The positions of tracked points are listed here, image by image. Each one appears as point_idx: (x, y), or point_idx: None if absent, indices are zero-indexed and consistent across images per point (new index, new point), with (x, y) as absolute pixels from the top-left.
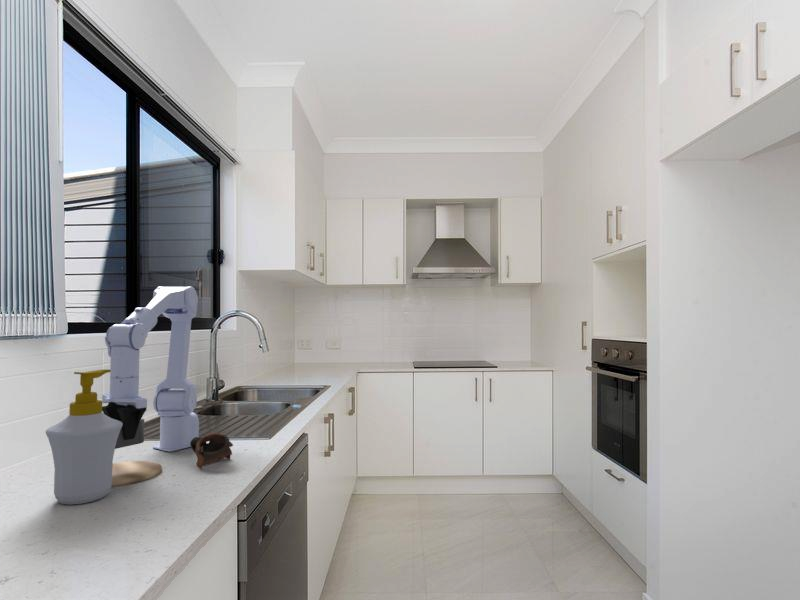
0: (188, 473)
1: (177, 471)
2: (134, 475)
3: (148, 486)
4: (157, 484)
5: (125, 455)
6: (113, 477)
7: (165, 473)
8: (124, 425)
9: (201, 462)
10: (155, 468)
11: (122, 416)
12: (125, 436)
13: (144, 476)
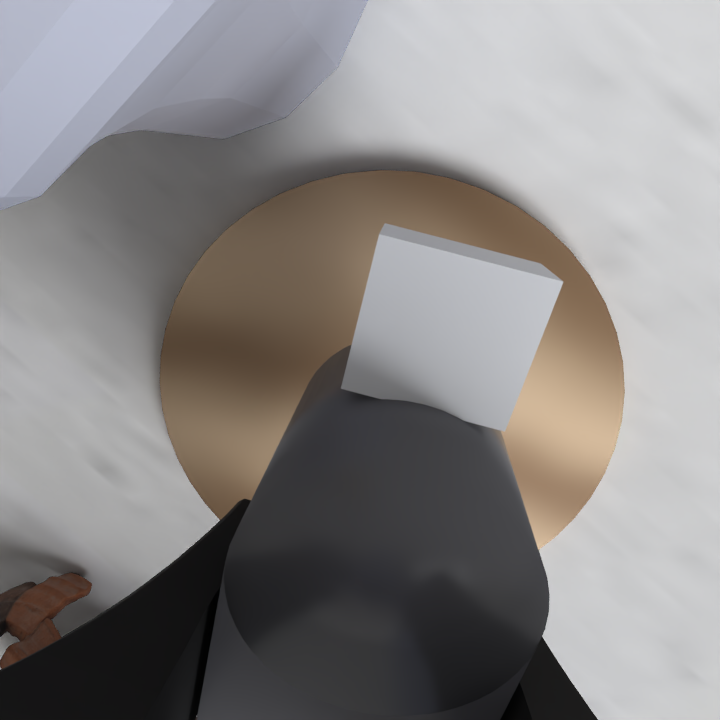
0: (66, 506)
1: (146, 521)
2: (236, 367)
3: (57, 280)
4: (45, 322)
5: (675, 689)
6: (325, 300)
7: (174, 481)
8: (146, 593)
9: (33, 592)
10: (237, 499)
11: (40, 699)
12: (225, 517)
13: (163, 367)
